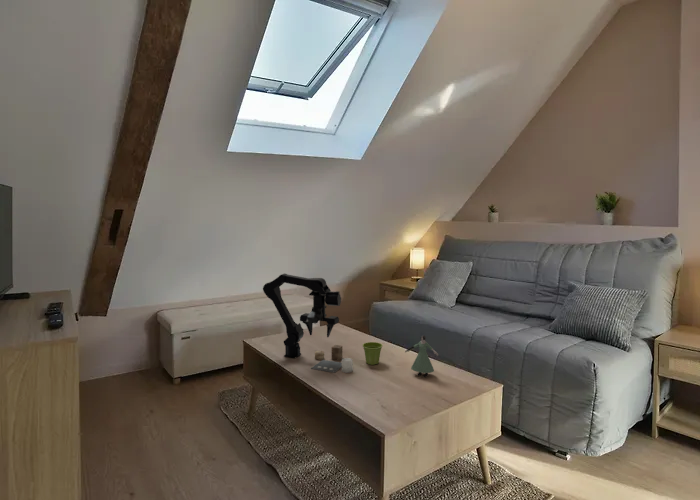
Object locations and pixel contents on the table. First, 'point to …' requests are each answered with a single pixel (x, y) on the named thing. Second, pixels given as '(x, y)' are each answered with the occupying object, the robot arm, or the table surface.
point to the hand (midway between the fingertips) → (319, 336)
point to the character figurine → (422, 358)
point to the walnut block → (336, 352)
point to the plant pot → (372, 352)
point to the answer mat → (328, 366)
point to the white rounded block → (347, 365)
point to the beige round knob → (319, 355)
